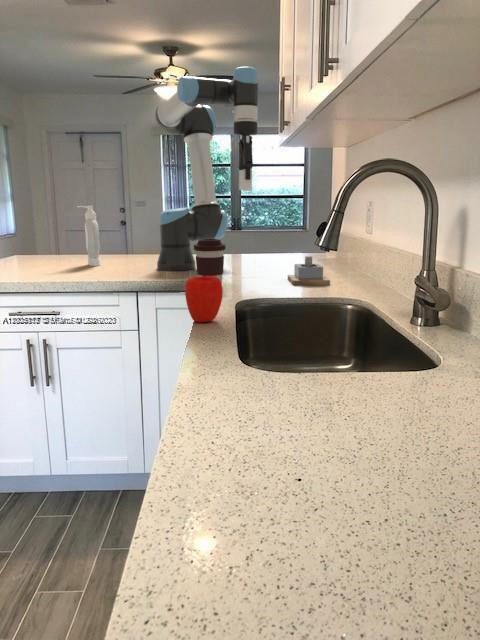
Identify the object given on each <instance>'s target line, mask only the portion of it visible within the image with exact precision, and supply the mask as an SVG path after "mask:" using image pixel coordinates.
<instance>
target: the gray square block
mask: <svg viewBox="0 0 480 640" xmlns="http://www.w3.org/2000/svg"><path fill="white" fill-rule="evenodd" d="M293 269H294V271H293V273H294V274H293V275H294V276H295V277H296V278H297V279H298V280H308V279H323V275H324V266H322V265H321V264H319V263H312V267H305V263H294V268H293Z"/></svg>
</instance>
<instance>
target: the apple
mask: <svg viewBox="0 0 480 640" xmlns="http://www.w3.org/2000/svg"><path fill="white" fill-rule="evenodd" d="M184 285H185V287H184V288H185V291H184V295H185V301H186V306H187V308H188V313H189V316H190V318H191V319H192V320H193V322H195V323H197V322H198V324H199V323H206V322H210V321H211V322H212V321H213V320H215V319H216V317H217V315H218V313H219V311H220V309H221V305H222V301H223V290H224V289H223V283H222V284H221V281H220V279H218V278H217V277H214V276H200V277H198V276H193V277H189V278H188V279H187V280H186V282H185V284H184Z"/></svg>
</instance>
